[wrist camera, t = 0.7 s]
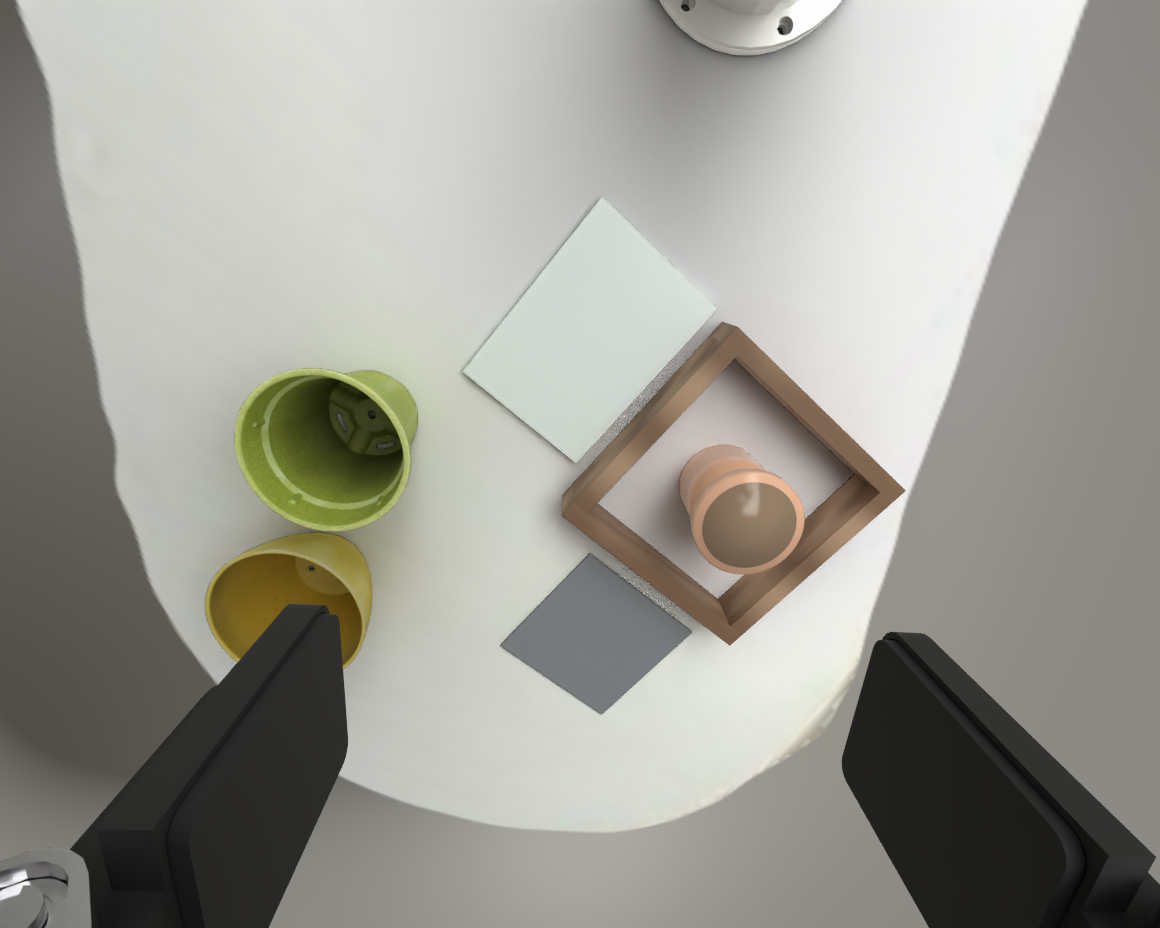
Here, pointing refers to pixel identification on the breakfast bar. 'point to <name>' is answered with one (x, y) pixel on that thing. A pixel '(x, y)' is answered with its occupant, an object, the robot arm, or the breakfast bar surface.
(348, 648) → the flower pot
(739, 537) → the terracotta pot
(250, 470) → the plant pot
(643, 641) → the slate mat
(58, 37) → the breakfast bar surface
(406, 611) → the breakfast bar surface
